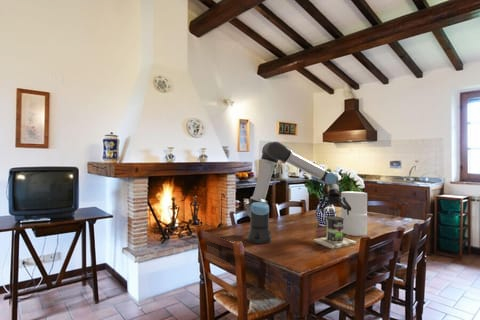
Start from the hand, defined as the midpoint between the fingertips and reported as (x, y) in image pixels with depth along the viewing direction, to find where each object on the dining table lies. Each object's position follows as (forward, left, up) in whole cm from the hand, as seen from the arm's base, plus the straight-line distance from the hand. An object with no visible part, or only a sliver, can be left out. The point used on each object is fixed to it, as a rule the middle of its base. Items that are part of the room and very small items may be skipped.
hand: (335, 218), depth 186 cm
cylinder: (+27, +9, -14) cm, 32 cm away
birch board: (-4, -3, -14) cm, 15 cm away
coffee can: (-4, -3, -13) cm, 14 cm away
